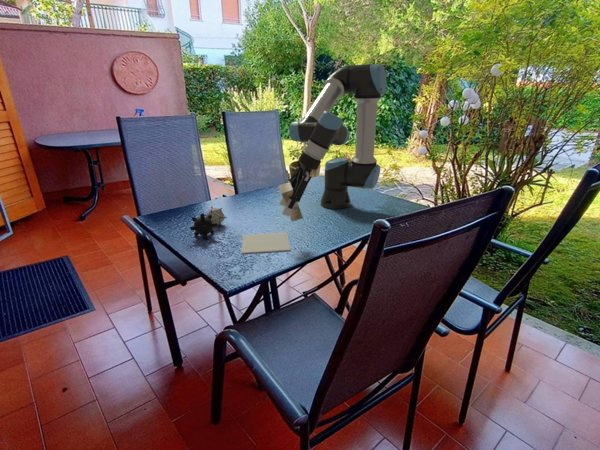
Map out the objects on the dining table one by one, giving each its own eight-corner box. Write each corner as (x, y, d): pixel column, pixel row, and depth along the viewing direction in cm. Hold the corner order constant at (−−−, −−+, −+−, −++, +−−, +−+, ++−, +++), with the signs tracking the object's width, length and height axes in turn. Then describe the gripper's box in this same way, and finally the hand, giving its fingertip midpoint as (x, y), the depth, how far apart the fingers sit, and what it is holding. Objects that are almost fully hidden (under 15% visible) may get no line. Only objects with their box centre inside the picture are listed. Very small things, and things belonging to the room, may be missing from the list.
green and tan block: (299, 209, 132) (289, 181, 126) (302, 218, 125) (293, 189, 119) (289, 212, 132) (279, 185, 126) (291, 222, 125) (281, 193, 119)
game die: (221, 231, 152) (233, 214, 150) (211, 232, 144) (223, 213, 142) (208, 219, 154) (219, 201, 153) (196, 219, 146) (209, 200, 144)
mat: (286, 233, 140) (286, 232, 140) (290, 250, 126) (290, 249, 125) (243, 236, 138) (242, 234, 138) (241, 253, 124) (241, 252, 123)
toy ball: (220, 222, 145) (224, 224, 134) (204, 242, 144) (207, 246, 132) (199, 206, 142) (201, 208, 130) (183, 227, 140) (184, 230, 129)
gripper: (298, 143, 127) (272, 195, 134) (308, 159, 108) (277, 218, 116) (315, 152, 129) (288, 202, 137) (328, 168, 111) (296, 225, 119)
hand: (283, 209), depth 127 cm, fingers closed on green and tan block, 8 cm apart
